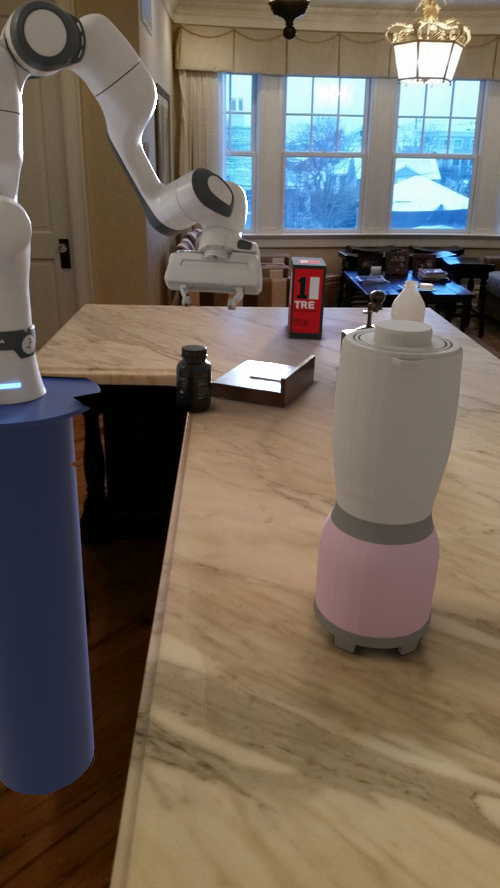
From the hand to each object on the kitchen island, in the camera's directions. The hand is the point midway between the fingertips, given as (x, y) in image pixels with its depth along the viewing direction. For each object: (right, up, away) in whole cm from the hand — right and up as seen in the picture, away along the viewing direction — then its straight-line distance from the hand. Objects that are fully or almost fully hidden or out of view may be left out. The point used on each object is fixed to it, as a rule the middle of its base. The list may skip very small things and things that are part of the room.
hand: (208, 307), depth 143 cm
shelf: (+12, -16, +9) cm, 21 cm away
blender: (+21, -46, -66) cm, 83 cm away
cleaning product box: (+24, +4, +60) cm, 65 cm away
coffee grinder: (+35, -11, +24) cm, 44 cm away
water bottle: (+39, -20, +1) cm, 44 cm away
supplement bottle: (-3, -21, -4) cm, 21 cm away
